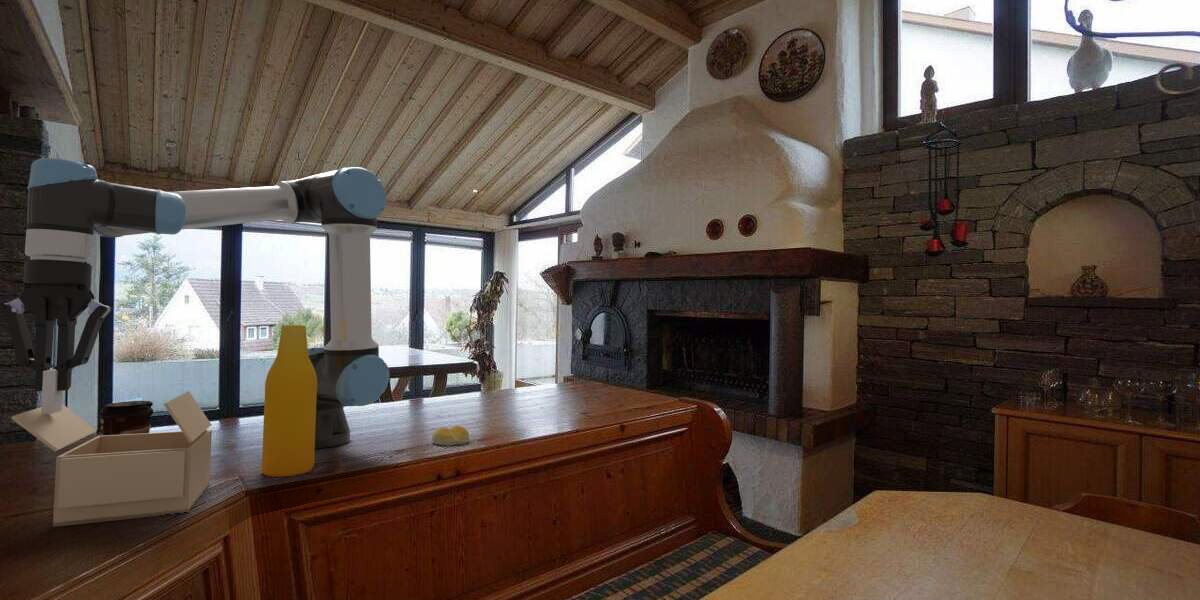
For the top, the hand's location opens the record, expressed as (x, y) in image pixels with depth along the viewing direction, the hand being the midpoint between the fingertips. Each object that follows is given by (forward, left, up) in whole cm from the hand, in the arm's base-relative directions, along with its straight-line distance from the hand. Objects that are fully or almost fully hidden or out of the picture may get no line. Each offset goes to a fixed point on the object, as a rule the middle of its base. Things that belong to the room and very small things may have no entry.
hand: (51, 412), depth 85 cm
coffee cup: (-2, -25, -16) cm, 30 cm away
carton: (-11, 0, -15) cm, 19 cm away
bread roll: (-66, -28, -16) cm, 74 cm away
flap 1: (-1, 0, -2) cm, 2 cm away
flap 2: (-17, 0, -2) cm, 17 cm away
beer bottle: (-31, -13, -16) cm, 38 cm away
